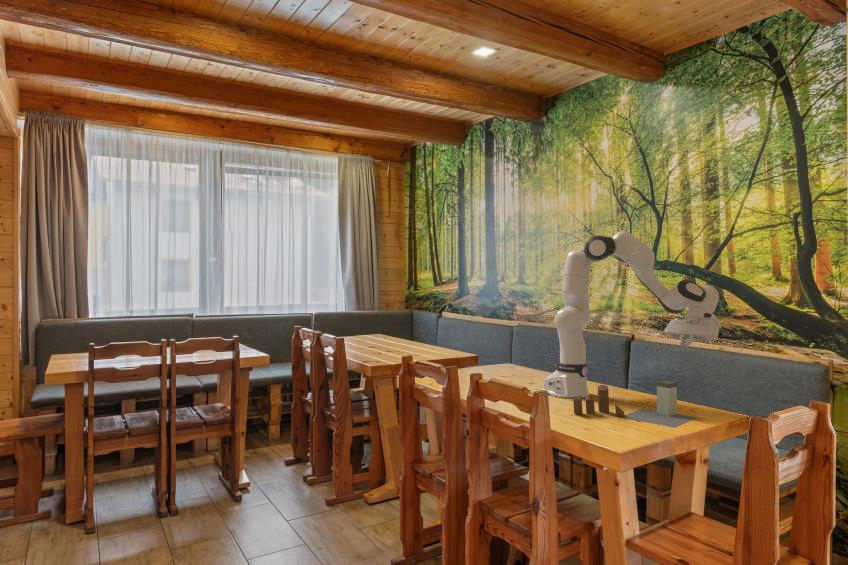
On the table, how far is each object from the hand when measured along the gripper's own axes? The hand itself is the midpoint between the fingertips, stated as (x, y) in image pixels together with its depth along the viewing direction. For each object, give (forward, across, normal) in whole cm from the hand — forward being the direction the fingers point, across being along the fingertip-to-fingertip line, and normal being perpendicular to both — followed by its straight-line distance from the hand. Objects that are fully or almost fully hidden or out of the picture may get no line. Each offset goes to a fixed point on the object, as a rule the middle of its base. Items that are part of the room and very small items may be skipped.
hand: (683, 345), depth 219 cm
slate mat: (+34, +3, +2) cm, 34 cm away
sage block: (+28, +2, +6) cm, 29 cm away
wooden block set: (+43, -14, -8) cm, 46 cm away
